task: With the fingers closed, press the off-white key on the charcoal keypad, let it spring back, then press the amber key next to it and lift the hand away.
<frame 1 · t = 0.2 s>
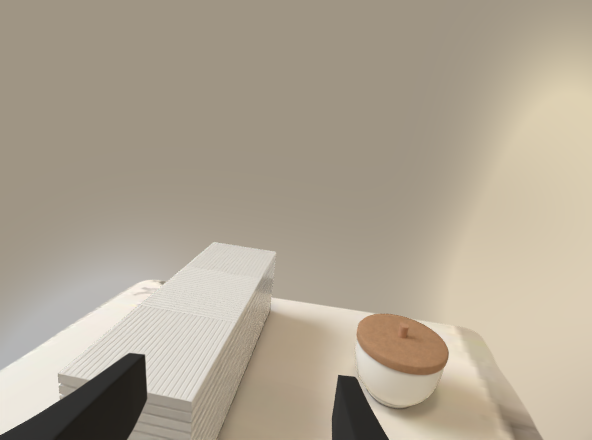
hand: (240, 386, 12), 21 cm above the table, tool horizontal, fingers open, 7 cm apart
stack of papers: (203, 367, 43), on the table
trinket box: (389, 390, 43), on the table
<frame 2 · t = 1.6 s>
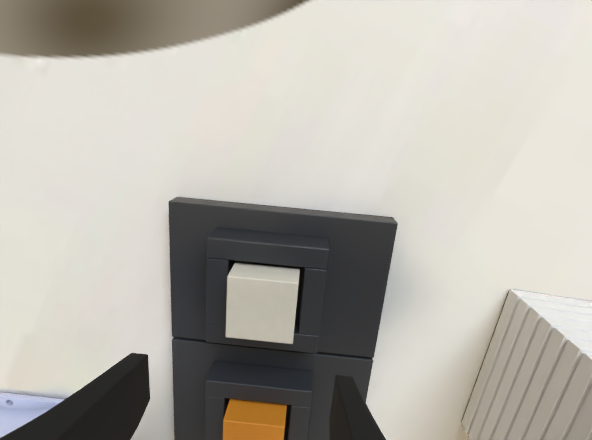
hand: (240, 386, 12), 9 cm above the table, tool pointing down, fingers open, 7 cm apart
amber key: (254, 434, 21), point 3 cm above the table, slide at 0.1 cm
keypad 2: (278, 275, 21), on the table
keypad 1: (269, 392, 24), on the table
white key: (263, 302, 18), point 3 cm above the table, slide at 0.1 cm
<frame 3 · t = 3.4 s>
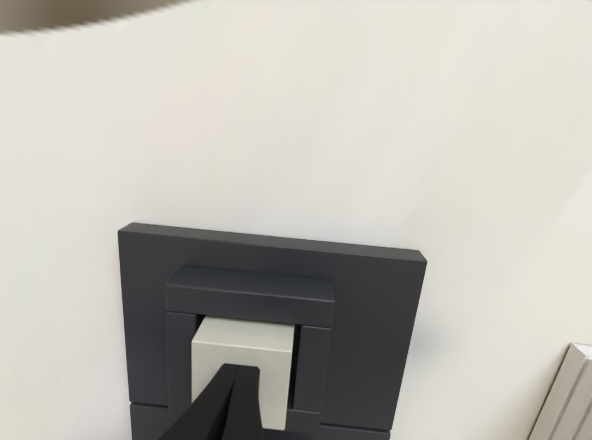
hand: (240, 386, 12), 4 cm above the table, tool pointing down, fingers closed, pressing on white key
keypad 2: (267, 322, 16), on the table
white key: (244, 370, 13), point 3 cm above the table, slide at 0.0 cm, touching gripper
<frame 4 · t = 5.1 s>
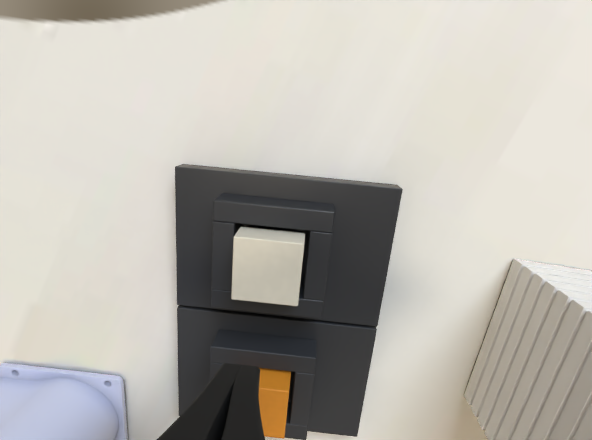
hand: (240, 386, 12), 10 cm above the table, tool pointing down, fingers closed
amber key: (259, 400, 21), point 3 cm above the table, slide at 0.1 cm
keypad 2: (283, 244, 22), on the table
keypad 1: (273, 363, 24), on the table
white key: (268, 265, 18), point 3 cm above the table, slide at 0.1 cm
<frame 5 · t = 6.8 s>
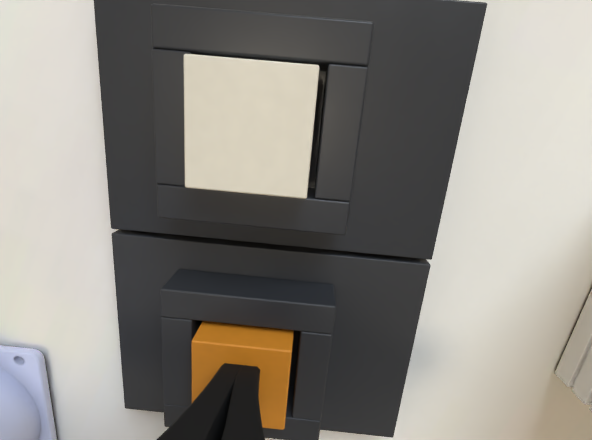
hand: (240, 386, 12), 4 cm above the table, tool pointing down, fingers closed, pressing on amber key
amber key: (243, 370, 13), point 3 cm above the table, slide at -0.4 cm, touching gripper
keypad 2: (280, 128, 13), on the table
keypad 1: (266, 327, 16), on the table
white key: (253, 129, 10), point 3 cm above the table, slide at 0.1 cm
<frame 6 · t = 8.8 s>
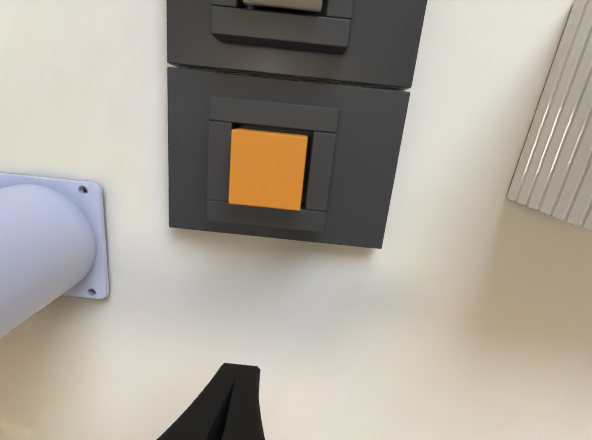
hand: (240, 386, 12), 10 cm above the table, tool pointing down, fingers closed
amber key: (268, 168, 17), point 3 cm above the table, slide at 0.1 cm
keypad 1: (282, 161, 20), on the table
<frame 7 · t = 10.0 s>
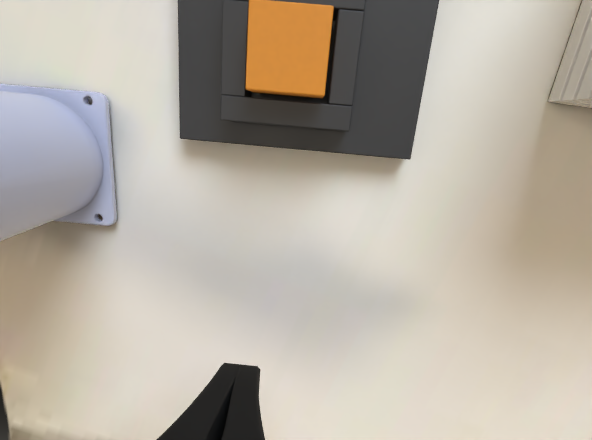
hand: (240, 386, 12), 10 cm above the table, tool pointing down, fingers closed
amber key: (289, 52, 15), point 3 cm above the table, slide at 0.1 cm
keypad 1: (302, 65, 19), on the table
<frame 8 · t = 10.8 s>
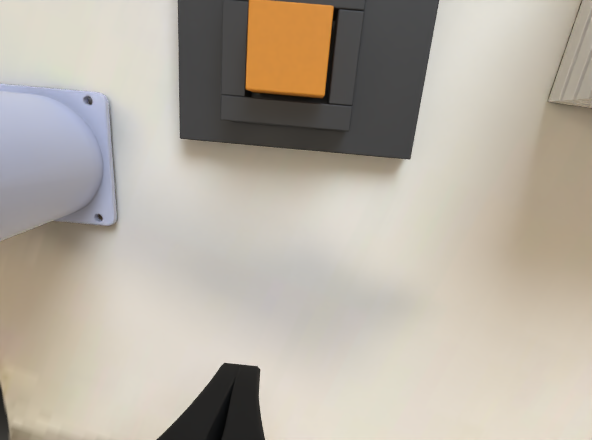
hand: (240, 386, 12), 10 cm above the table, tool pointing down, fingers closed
amber key: (289, 52, 15), point 3 cm above the table, slide at 0.1 cm
keypad 1: (302, 65, 19), on the table
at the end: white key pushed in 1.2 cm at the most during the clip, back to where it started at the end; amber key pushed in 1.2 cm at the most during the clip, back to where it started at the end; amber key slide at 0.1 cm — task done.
